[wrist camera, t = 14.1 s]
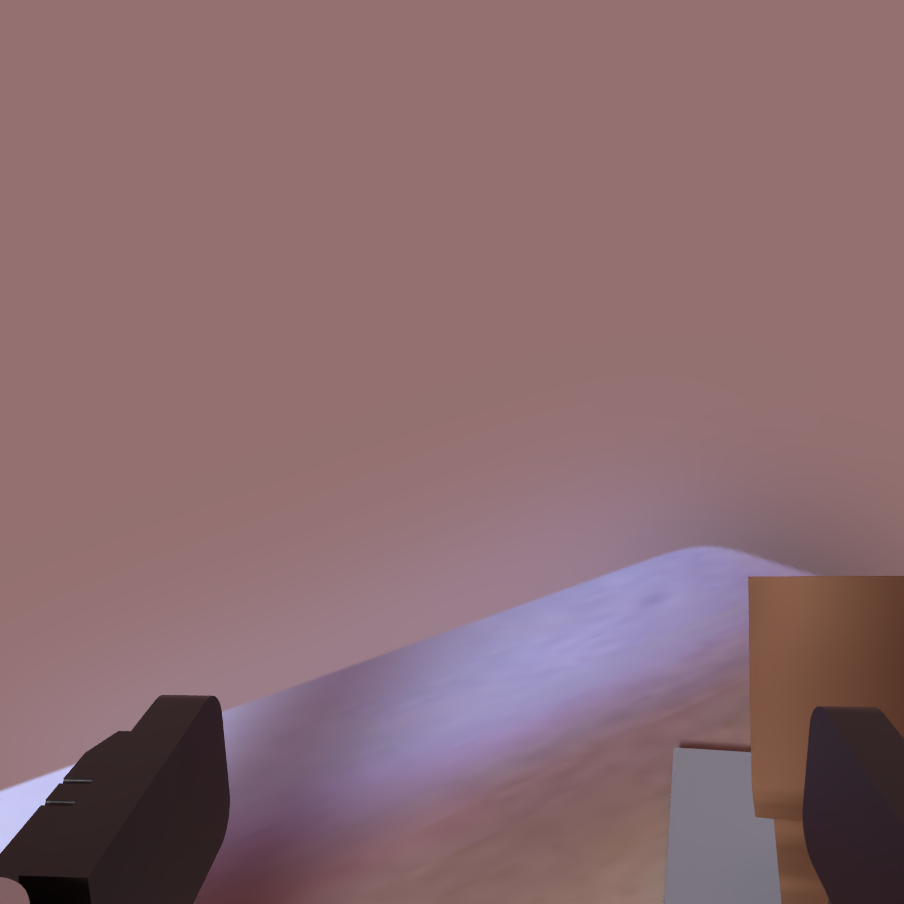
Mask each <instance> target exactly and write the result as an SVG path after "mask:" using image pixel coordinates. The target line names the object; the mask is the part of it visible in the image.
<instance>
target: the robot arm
mask: <svg viewBox="0 0 904 904" xmlns="http://www.w3.org/2000/svg"><path fill="white" fill-rule="evenodd" d="M229 807H230V794H229V783H228V772H227V762H226V751H225V741H224V730H223V720H222V711H221V706H220V703H219V701H218V699H217V698H216V697H215V696H189V695H188V696H187V695H162V696H159V697H158V698H157V699H156V700H155V702H154V703H153V704H152V705H151V707H150V708H149V709H148V710H147V712H146V713H145V714H144V715H143V717H142V718H141V719H140V720H139V722H138V723H137V724H136V726H135V727H134V728H133V729H132V731H118V732H117V733H115V734H113V735H112V736H110V737H109V738H107V739H106V740H104V741H103V742H101V743H100V744H98V745H97V746H95V747H93V748H92V749H90V750H89V751H87V752H86V753H85V754H84V755H83V756H82V757H81V758H80V760H79V761H78V762H77V763H76V764H75V766H74V767H73V768H72V769H71V770H70V772H69V773H68V774H67V775H66V776H65V777H64V781H63V784H59V785H58V786H57V787H56V788H55V789H54V791H53V792H52V793H51V794H50V795H49V796H48V798H47V799H46V803H45V806H44V805H41V806H40V807H39V808H38V810H37V811H36V812H35V813H34V814H33V816H32V817H31V818H30V819H29V820H28V821H27V823H26V824H25V825H24V826H23V827H22V829H21V830H20V831H19V832H18V833H17V835H16V836H15V837H14V838H13V839H12V840H11V842H10V843H9V844H8V845H7V846H6V848H5V849H4V850H3V851H2V852H1V854H0V904H193V903H194V901H195V899H196V897H197V894H198V892H199V890H200V888H201V886H202V884H203V882H204V880H205V878H206V876H207V874H208V872H209V870H210V868H211V866H212V863H213V861H214V859H215V857H216V855H217V853H218V851H219V849H220V847H221V845H222V842H223V839H224V836H225V833H226V829H227V824H228V818H229ZM802 817H803V830H804V837H805V842H806V847H807V851H808V854H809V857H810V860H811V862H812V865H813V867H814V869H815V871H816V873H817V875H818V877H819V879H820V881H821V883H822V885H823V887H824V889H825V891H826V893H827V896H828V898H829V900H830V902H831V904H904V738H903V737H902V736H901V735H900V733H899V732H898V731H897V730H896V728H895V727H894V726H893V724H892V723H891V722H890V721H889V719H888V718H887V717H886V716H885V714H884V713H883V712H882V711H881V710H880V709H878V708H876V707H834V706H818V707H816V708H815V709H814V710H813V712H812V715H811V719H810V726H809V738H808V750H807V762H806V774H805V786H804V798H803V811H802Z"/></svg>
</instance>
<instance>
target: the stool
mask: <svg viewBox="0 0 904 904" xmlns="http://www.w3.org/2000/svg"><path fill="white" fill-rule="evenodd" d="M748 585H749V652H750V718H751V784H752V793H753V802H754V810H755V817H758V818H769V819H774V828H775V839H776V850H777V860H778V871H779V882H780V893H781V904H828V896H827V893H826V891H825V889H824V887H823V885H822V883H821V881H820V879H819V877H818V875H817V873H816V871H815V869H814V867H813V865H812V862H811V860H810V857H809V854H808V851H807V847H806V842H805V837H804V830H803V817H802V811H803V798H804V786H805V774H806V762H807V750H808V738H809V726H810V719H811V715H812V712H813V710H814V709H815V708H816V707H818V706H834V707H876V708H878V709H880V710H881V711H882V712H883V713H884V714H885V716H886V717H887V718H888V719H889V721H890V722H891V723H892V724H893V726H894V727H895V728H896V730H897V731H898V732H899V733H900V735H901V736H902V737H903V738H904V576H801V577H748Z"/></svg>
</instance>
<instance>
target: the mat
mask: <svg viewBox="0 0 904 904" xmlns="http://www.w3.org/2000/svg"><path fill="white" fill-rule="evenodd" d="M664 904H781V893H780V882H779V871H778V860H777V850H776V839H775V828H774V819H769V818H758V817H755V810H754V802H753V793H752V784H751V752H739V751H724V750H708V749H692V748H676V747H674V753H673V769H672V785H671V801H670V818H669V834H668V850H667V866H666V882H665V898H664ZM828 904H831V902H830V900H829V898H828Z"/></svg>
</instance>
